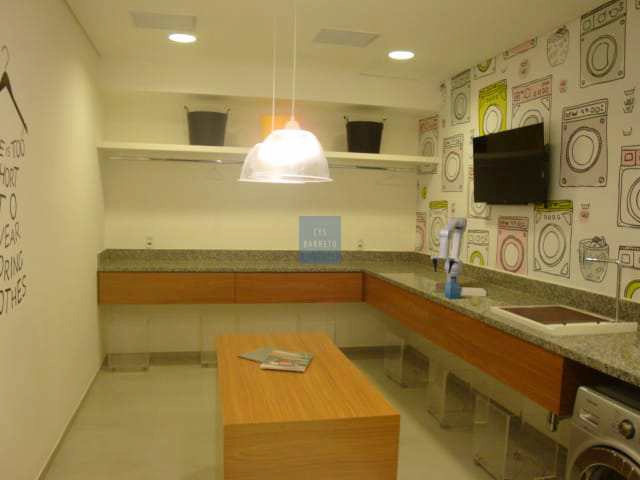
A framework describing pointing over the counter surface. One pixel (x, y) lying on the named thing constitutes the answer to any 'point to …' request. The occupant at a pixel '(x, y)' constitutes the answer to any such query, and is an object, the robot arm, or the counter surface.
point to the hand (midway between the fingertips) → (442, 272)
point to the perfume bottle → (453, 289)
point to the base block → (473, 291)
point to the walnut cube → (440, 287)
